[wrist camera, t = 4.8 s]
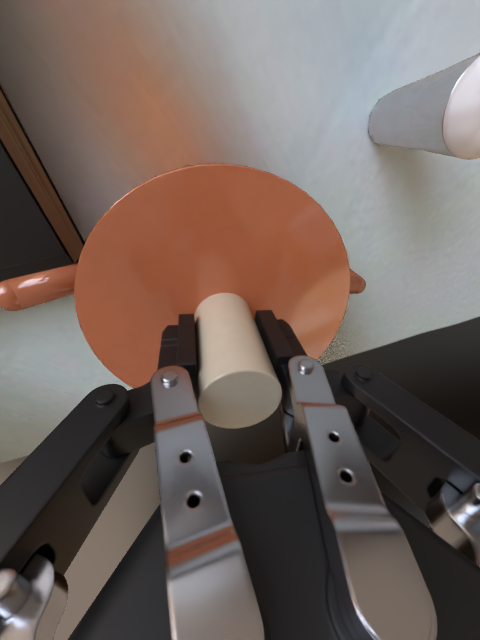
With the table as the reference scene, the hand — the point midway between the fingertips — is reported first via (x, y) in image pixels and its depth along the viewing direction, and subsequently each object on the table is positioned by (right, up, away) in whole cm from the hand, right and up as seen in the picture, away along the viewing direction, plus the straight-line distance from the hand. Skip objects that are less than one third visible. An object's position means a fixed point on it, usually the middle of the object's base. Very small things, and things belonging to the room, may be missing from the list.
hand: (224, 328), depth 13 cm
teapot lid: (0, +1, +1) cm, 1 cm away
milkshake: (+12, +16, +7) cm, 21 cm away
